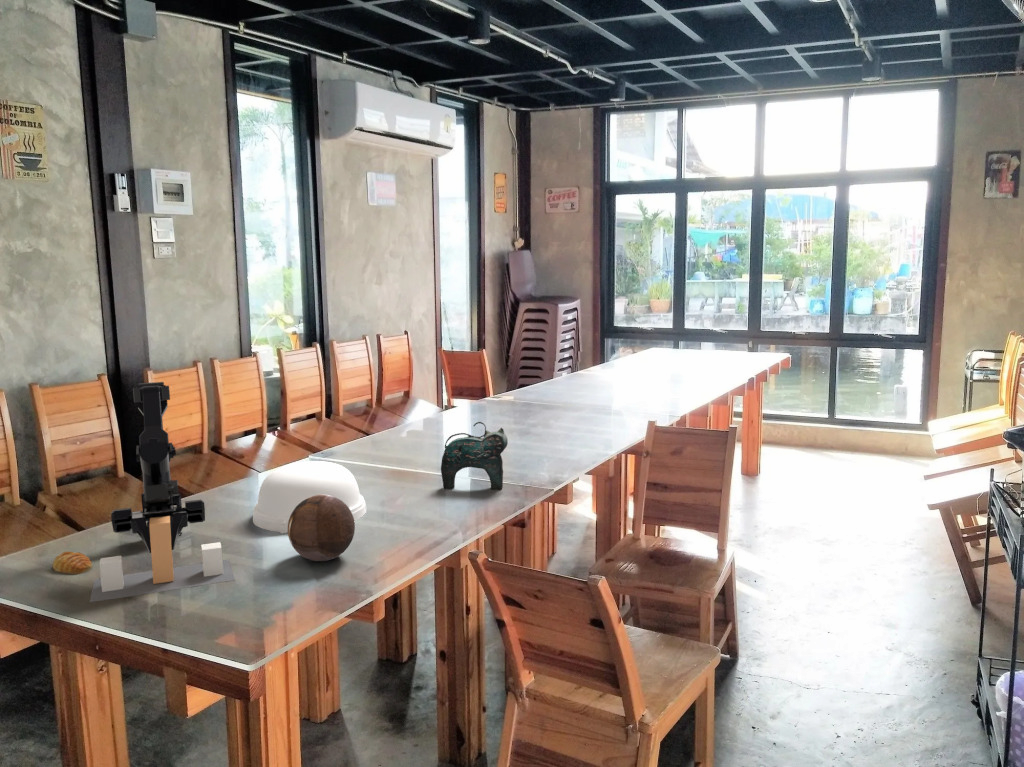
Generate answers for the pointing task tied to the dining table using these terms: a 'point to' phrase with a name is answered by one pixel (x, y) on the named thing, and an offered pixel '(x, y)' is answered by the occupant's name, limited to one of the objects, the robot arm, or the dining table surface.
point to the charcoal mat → (144, 583)
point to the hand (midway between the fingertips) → (161, 550)
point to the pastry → (72, 563)
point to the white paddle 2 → (212, 559)
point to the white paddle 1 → (111, 573)
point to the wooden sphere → (321, 527)
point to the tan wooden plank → (161, 549)
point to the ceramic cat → (475, 456)
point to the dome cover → (304, 492)
